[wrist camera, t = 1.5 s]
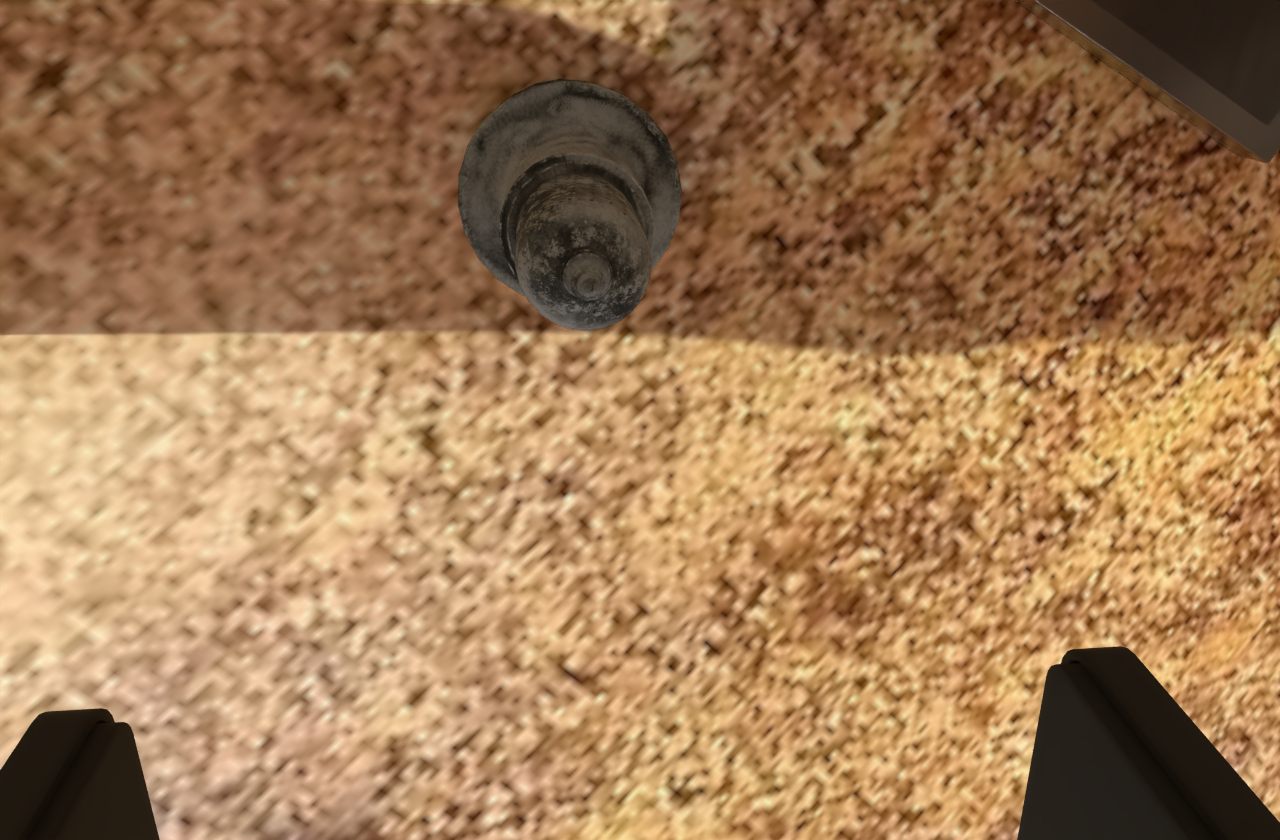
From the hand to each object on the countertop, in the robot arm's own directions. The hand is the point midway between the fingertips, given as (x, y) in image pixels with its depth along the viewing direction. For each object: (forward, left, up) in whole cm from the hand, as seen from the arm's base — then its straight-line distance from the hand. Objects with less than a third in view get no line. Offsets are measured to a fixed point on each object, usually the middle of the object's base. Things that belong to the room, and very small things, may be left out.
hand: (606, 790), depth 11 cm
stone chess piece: (-1, +2, -23) cm, 23 cm away
